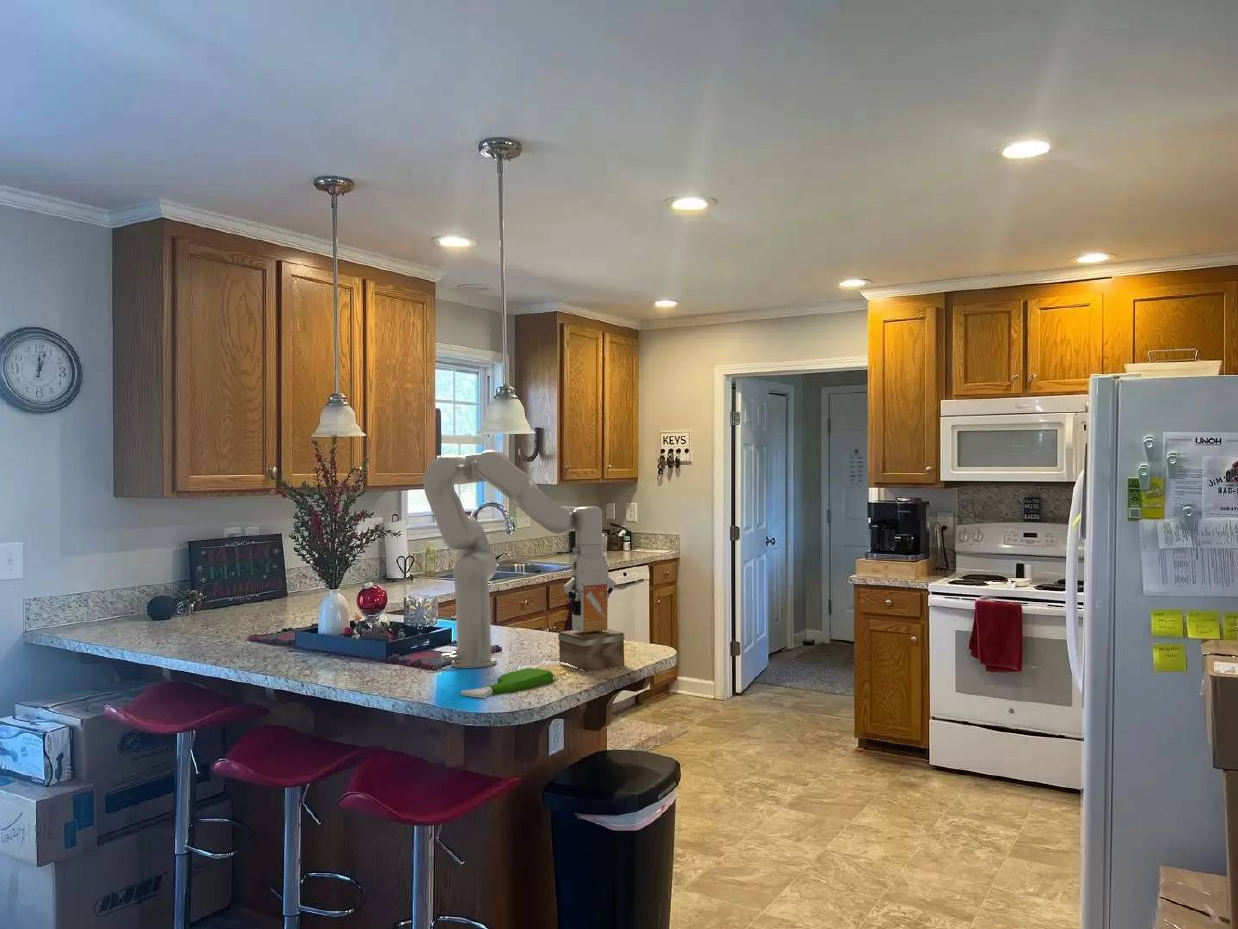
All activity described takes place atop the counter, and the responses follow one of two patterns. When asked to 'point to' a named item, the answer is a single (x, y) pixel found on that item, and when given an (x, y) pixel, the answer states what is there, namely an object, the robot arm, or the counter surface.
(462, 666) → the robot arm
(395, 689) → the counter surface
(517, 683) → the green and white oblong
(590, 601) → the small box
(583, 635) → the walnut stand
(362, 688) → the counter surface
